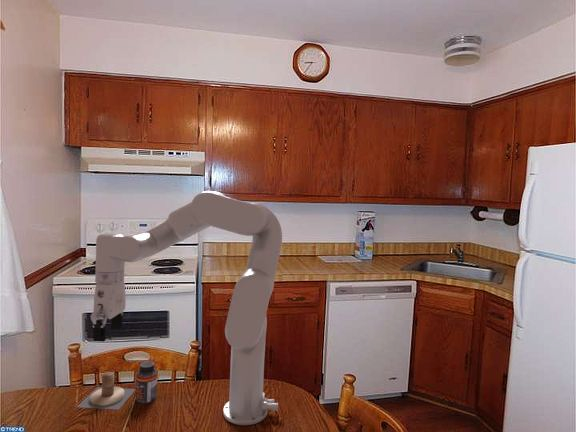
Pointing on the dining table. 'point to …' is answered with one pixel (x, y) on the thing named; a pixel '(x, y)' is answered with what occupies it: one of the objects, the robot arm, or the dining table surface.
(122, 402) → the mat
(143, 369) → the supplement bottle
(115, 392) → the lid
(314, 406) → the dining table surface
